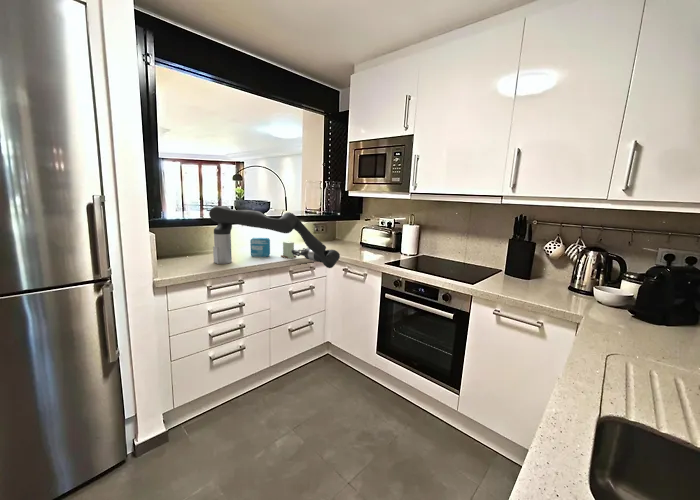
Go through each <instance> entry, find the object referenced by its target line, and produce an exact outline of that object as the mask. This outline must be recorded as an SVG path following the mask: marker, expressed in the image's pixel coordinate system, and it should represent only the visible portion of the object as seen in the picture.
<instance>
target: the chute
mask: <svg viewBox="0 0 700 500" xmlns="http://www.w3.org/2000/svg"><path fill="white" fill-rule="evenodd" d="M280 257H281V258H283V259H286V258H287V259H289V258H288V257H287V256H283V254H281V255H280ZM294 258H297V256H296V255H294Z"/></svg>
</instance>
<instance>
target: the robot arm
mask: <svg viewBox="0 0 700 500" xmlns="http://www.w3.org/2000/svg"><path fill="white" fill-rule="evenodd" d="M208 214H209V215H208V216H209V218H210V219H211V220H212V222H215V223H217V226H215V228H213V243H214V244H213V245H214V246H212V252H213V254H212V256H213V263H215V264H217V265H224V264H230V263H232V262H233V261H232V258H233V257H232V233H231V231H232V229H233V225H234V224H235V225H239V226H243V227H251V228H257V229H264V230H270V231H274V232H277V233H281V234H289V233H291V232H293V230H294V231H296V232H297V234H299V236H300V237H301V238H302V240H303V242H304V244H305V245H306V247H307V248H305V247H304V248H302V249H294V250H292V253H293V255H295V256H296V257H300V256H302V257H304V258H305V259H306V260H309V261H313V262H318V263H322V265H324V266H325V268H328V269H332V268H334V267H335V265H336V264H337V262H338V261H339V259H340V258H341V255H340V253H339V251H337V250H335V249H327V247H326V245H325V244H324V243H323V242H321V240H319V239H318V238H317V237H316V236H314V234H312V233H311V231H310V230H309V229H308V228H307V227H306V226H305V224H304V223H303V222H302V221H301V219H299V218H298V216H297V215H295V214H294V213H292V212H290V211H289V212H288V211H287V212H285V213H284V214H283V215H282V216H281V217H279V218H273V217H268V216H267V215H265V214H264V213H263V212H261V211H259V210H253V209H237V210H236V209H231V208H230V207H229V206H227V205H216V206H214V207H212V208H211V209H210V210H209V211H208Z"/></svg>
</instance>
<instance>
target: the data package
mask: <svg viewBox="0 0 700 500" xmlns="http://www.w3.org/2000/svg"><path fill="white" fill-rule="evenodd" d="M249 241H250V242H249V243H250V256H251V257H254V258H256V257H259V258H266V257H267V258H268V257H270V254H271V240H270V238H268V237H252V238H251V239H249Z"/></svg>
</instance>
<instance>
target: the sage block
mask: <svg viewBox="0 0 700 500" xmlns="http://www.w3.org/2000/svg"><path fill="white" fill-rule="evenodd" d="M292 250H295V242H292V241H283V242H282V255H283V256H287V257H288V258H287V259H293V258H292V257H294V255H293V253H292ZM294 258H295V257H294Z"/></svg>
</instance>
